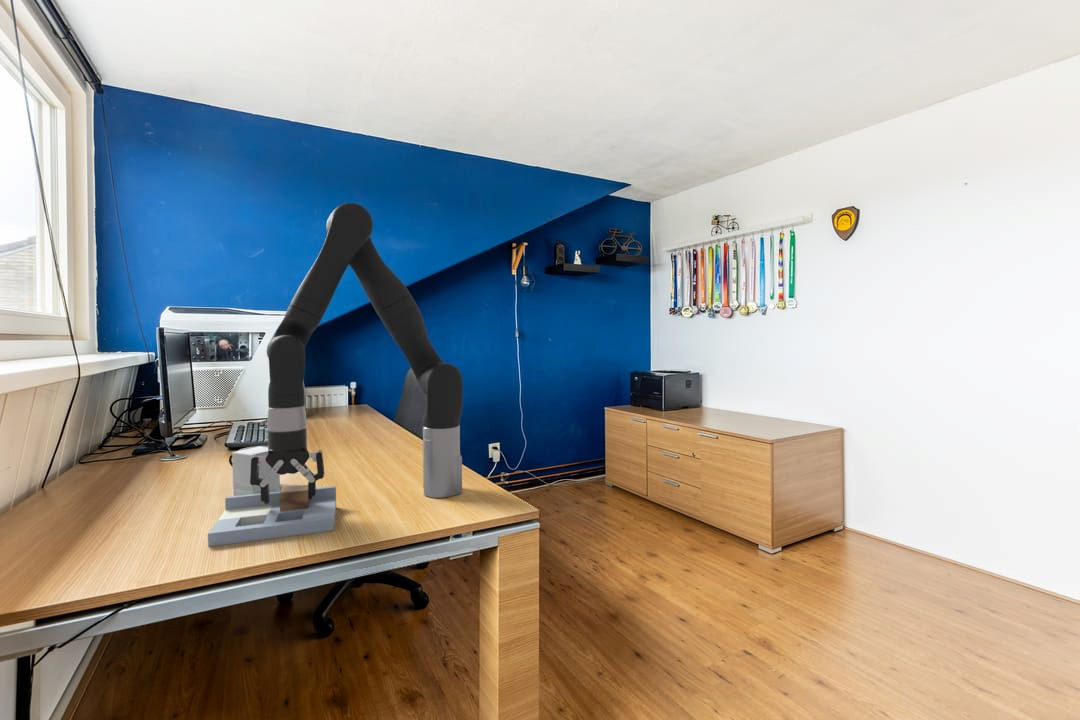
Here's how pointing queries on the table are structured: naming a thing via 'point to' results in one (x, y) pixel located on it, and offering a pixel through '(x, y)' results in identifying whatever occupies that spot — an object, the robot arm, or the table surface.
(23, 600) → the table surface
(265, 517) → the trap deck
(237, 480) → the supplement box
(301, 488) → the walnut block
